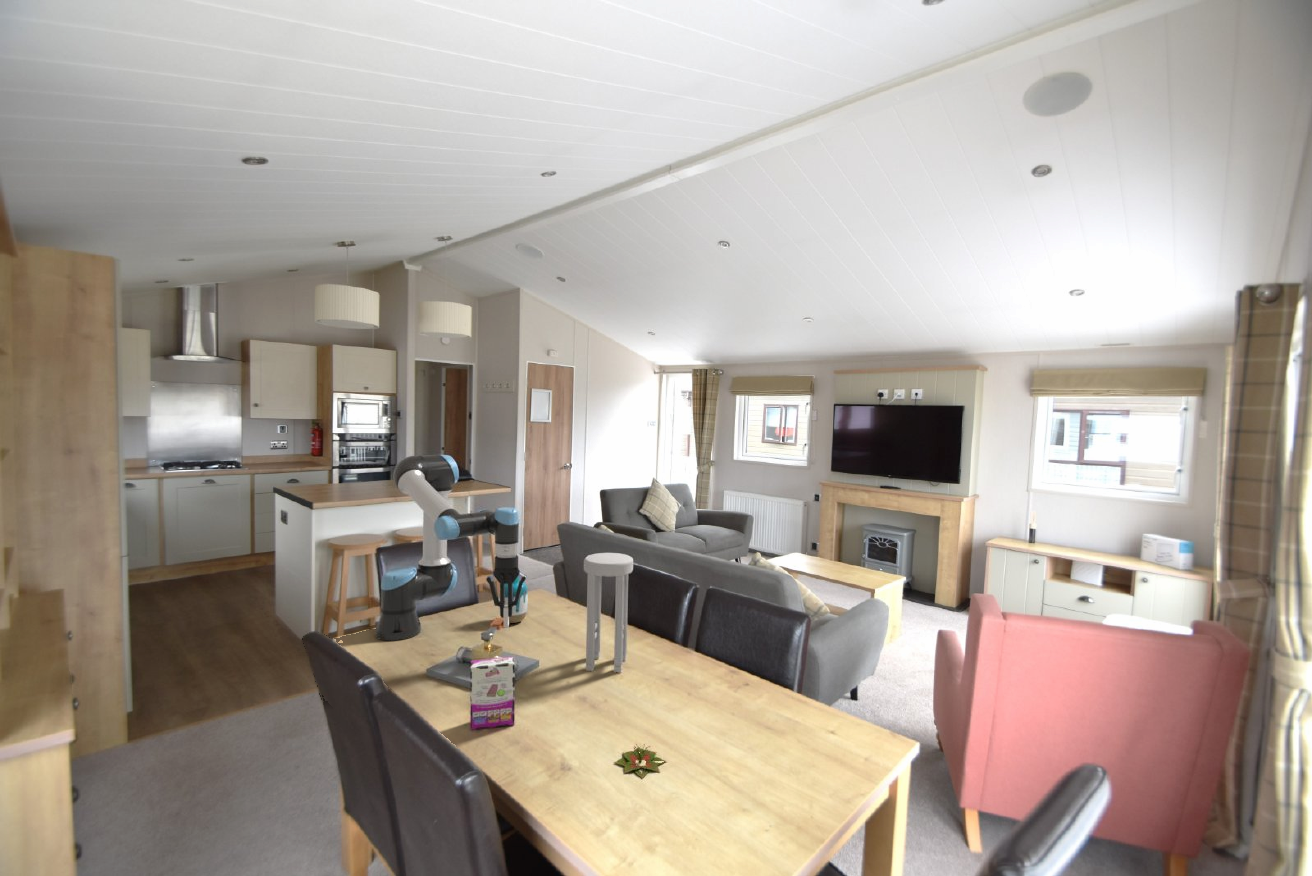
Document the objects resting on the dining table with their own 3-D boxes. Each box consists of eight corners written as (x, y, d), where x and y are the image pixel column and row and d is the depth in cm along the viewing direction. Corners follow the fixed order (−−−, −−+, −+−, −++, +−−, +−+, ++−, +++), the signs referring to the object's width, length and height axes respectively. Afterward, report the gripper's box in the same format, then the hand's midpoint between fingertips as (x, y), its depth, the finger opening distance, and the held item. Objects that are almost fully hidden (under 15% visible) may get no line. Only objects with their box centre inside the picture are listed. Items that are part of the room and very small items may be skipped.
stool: (633, 656, 198) (635, 553, 197) (626, 676, 183) (629, 564, 182) (588, 653, 200) (590, 551, 199) (577, 672, 184) (579, 562, 183)
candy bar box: (514, 716, 157) (514, 655, 157) (514, 725, 152) (515, 663, 152) (470, 721, 154) (471, 659, 154) (469, 731, 149) (470, 667, 149)
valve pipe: (454, 664, 185) (454, 636, 184) (468, 658, 190) (468, 630, 190) (506, 679, 175) (507, 649, 175) (519, 671, 181) (520, 642, 180)
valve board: (426, 675, 180) (426, 668, 180) (477, 650, 200) (477, 644, 200) (491, 694, 169) (491, 687, 169) (539, 666, 189) (539, 660, 189)
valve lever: (479, 640, 181) (479, 634, 181) (495, 622, 196) (496, 617, 196) (490, 641, 180) (491, 635, 180) (506, 623, 196) (506, 617, 196)
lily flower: (638, 744, 146) (638, 726, 146) (676, 763, 138) (676, 744, 138) (604, 765, 137) (604, 746, 136) (642, 787, 129) (643, 767, 129)
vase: (523, 627, 223) (524, 577, 223) (495, 626, 224) (496, 576, 223) (530, 617, 234) (530, 569, 233) (503, 616, 234) (504, 569, 233)
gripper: (484, 558, 188) (484, 631, 189) (525, 557, 190) (525, 629, 191) (488, 552, 196) (487, 622, 196) (527, 552, 197) (527, 621, 198)
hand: (506, 626), depth 194 cm, fingers closed
